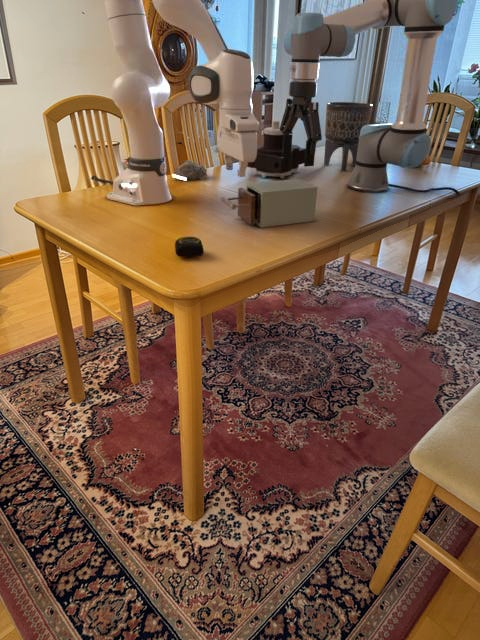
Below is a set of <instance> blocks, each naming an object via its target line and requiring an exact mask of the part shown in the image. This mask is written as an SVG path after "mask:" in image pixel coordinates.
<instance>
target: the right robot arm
mask: <svg viewBox="0 0 480 640" xmlns="http://www.w3.org/2000/svg"><path fill="white" fill-rule="evenodd" d="M457 5H458V0H365V1H363V2H360V3H358V4H355V5H353V6H351V7H348V8H346V9H343V10H340V11H338V12H334V13H332V14H330V15H327V16H325V17H324V15H323V14H322V13H321V12H299V13H297V14H295V17H294V21H293V26H291V27H289V28H288V29H287V30H286V31H285V33H284V36H283V49H284V51H285V52H286V53H287V55H289V56H291V62H290V65H291V66H290V68H289V70H290V76H289V77H290V80H291V81H290V82H289V88H288V95H289V97H291V98H286V103H285V108H284V112H283V115H282V118H281V121H280V124H279V128H280V131H282V134H283V149H282V157H283V158H287V157H291V148H292V145H293V130H294V128H295V126H296V124H297V122H298V120H299V119H300V121H302V124H303V128H304V131H305V135H306V137H307V139H306V141H305V149H306V150H305V162H304V164H303V167H314V166H315V157H316V151H317V150H316V149H317V143H318V142H319V141H322V139H323V136H322V128H321V120H320V115H319V114H320V113H319V102H318V101H313V98H315V97H317V90H318V83H317V82H316V81H317V80H318V79H319V72H320V71H319V70H320V59H321V57H328V58H329V57H330V58H331V57H334V58H343V57H347V56H349V55H351V54H352V52H353V51H354V49H355V46H356V42H357V41H356V40H357V35H359V34H360V33H363V32H366V31H368V30H371V29H373V30H379V29H382V28H387V27H388V28H389V27H404V29H403V34H404V35H405V37H406V38H407V43H406V52H405V59H404V65H403V70H402V71H403V73H402V79H401V87H400V93H399V99H398V100H399V101H398V105H397V106H398V108H397V115H396V120H395V122H393V123H379V124H376V123H375V124H369V125H365V126H363V127H362V128H361V132H360V136H359V142H358V150H357V158H356V165H355V166H354V167H353V171H351V174H350V176H349V179H348V182H347V187H348V188H349V189H351V190H354V191H358V192H363V193H364V192H365V193H382V192H386V191H388V189H389V187H390V188H395V189H401V190H406V191H410V192H414V193H420V194H421V193H422V194H423V193H424V194H425V193H429V192H436V191H451V192H454V193H455V194H456V195H460V194H461V193H460V192H459V190H457V189H456V188H455V187H450V186H445V187H443V186H442V187H431V188H426V189H416V188H413V187H412V188H411V187H407V186H404V185H397V184H392V183H389V178H388V173H387V172H388V171H387V166H388V165H392V166H396V167H400V168H402V169H403V168H407V169H414V168H417V167H418V165H420V164H421V163H422V162H423V160H424V159H425V158H427V157H428V155H429V153H430V150H431V146H432V139H431V136H430V135H429V134H428V133H426V132H427V125H426V124H425V122H424V116H425V110H426V109H425V108H426V104H427V99H428V93H429V88H430V81H431V76H432V70H433V64H434V59H435V52H436V47H437V41H438V39H439V37H440V36H441V35H442V34H443V33H444V30H445V26H446V25H447V24H449V23H450V22H451V21H452V20H453V17H454V16H455V14H456V10H457V7H458V6H457Z"/></svg>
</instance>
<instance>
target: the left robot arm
mask: <svg viewBox="0 0 480 640" xmlns="http://www.w3.org/2000/svg"><path fill="white" fill-rule="evenodd" d="M143 2H144V1H143V0H104V7H105V13H106V18H107V23H108V27H109V32H110V35H111V40H112V45H113V49H114V51H115V53H116V55H117V56H118V57H119V59H120V60H121V63H122V64H123V65H124V67H125V70H126V72H124V73H123V74H121V75H120V76H118V77H116V78H115V79H114V80H113V82H112V84H111V89H110V92H111V98H112V101H113V103H114V104H115V106H116V107H117V108H118V109H119V111H120V113H121V115H122V119H123V120H124V124H125V127H126V131H127V136H128V145H129V154H130V156H129V157H127V158H124V159H123V161H124V162H123V163H124V164H127V166H126V168H125V169H124V170H123V171H122V172H121V173H120V174H119V175H117V176H116V177H115V178H114V179H113V181H111V180H108V179H102V178H99V177H97V176H96V175H92V176H91V178H90V180H96V181H97V182H100V183H105V184H110V185H112V191H111V192H109V193H108V194H107V195H106V199H107V200H111V201H115V202H119V203H123V204H127V205H131V206H134V207H136V206H146V205H159V204H164V203H168V202H169V201H171V200H172V199H173V197H172V195H171V192H170V188H169V184H168V177H167V159H166V158H167V157H166V156H165V145H164V132H163V130H162V128H161V127H160V125H159V123H158V119H157V116H156V112H155V110H158V109H159V108H161V107H163V105H165V104H166V103H167V102H168V101H169V99H170V96H171V87H170V84H169V82H168V80H167V78H166V76H164V74H163V72H162V69H161V67H160V64H159V62H158V59H157V57H156V54H155V51H154V47H153V45H152V41H151V35H150V30H149V27H148V26H149V25H148V21H147V16H146V11H145V7H144V3H143ZM151 2H152V4H153V6H154V8H155V10H156V12H157V13H158V14H159V16H160V17H161V18H162V20H164V22H166V23H168V24H169V25H171V26H173V27H176V28H177V29H180V30H181V31H184V32H186V33H188V34H189V35H190V36H192V37H193V39H195V40H196V41H197V42H198V44H199V45H200V47H201V49H202V51H203V52H204V55H205V56H206V58H207V60H208V61H207V62H205V63H202V64H200V65H196V66H194V68H192V70H191V72H190V73H189V77H188V90H189V93H190V95H191V97H192V99H193V100H194V101H195V102H196V103H197V104H201V105H205V106H206V105H207V106H208V105H218V106H219V107H218V108H219V109H218V110H219V111H218V112H219V114H218V115H219V116H218V123H219V124H218V126H217V133H216V137H217V138H216V146H217V150H218V151H219V152H221V153H223V160H224V163H225V164H224V166H225V167H224V168H225V170H227V171H233V169H234V164H233V160H232V158H234V159H236V160H238V168H237V176H238V177H240V178H243V177H246V172H247V168H248V167H247V165H248V162H254V161H255V159H256V156H257V148H258V143H259V142H258V141H259V140H258V138H259V137H258V131H259V130H260V122H259V121H258V119H257V118H256V116H255V115H254V113H253V102H252V95H253V91H254V66H253V61H252V58H251V55H249V54H248V53H247V52H245V51H241V50H238V49H237V50H236V49H230V48H228V46H227V44H226V42H225V40H224V38H223V36H222V34H221V32H220V30H219V28H218V26H217V24H216V22H215V20H214V19H213V16H212V14H210V12H209V10H208V9H207V7H206V6H205V5H204V3H203V2H202V0H151ZM239 164H240V165H239ZM171 176H172V177H171V178H175V179H176V178H179V179H182V180H181V181H183V180H186V178H185V177H181V176H177V175H176V174H174V173H172V174H171ZM179 179H178V180H179ZM186 181H187V180H186Z"/></svg>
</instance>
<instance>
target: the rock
mask: <svg viewBox="0 0 480 640" xmlns="http://www.w3.org/2000/svg"><path fill="white" fill-rule="evenodd" d="M175 175H177V176H181V177H185V178H186V180H182V179H179V178H175V179H176V180H180V181H187V182H189V181H196V180H197V181H198V180H200V179H201V178H204V177H205V176H206V177H208V174H207V169H206V168H205V167H204V166H203V165H201V164H199V163H196V162H193V161H191V160H188V159H185V161H184V162H183V163H181V165H180V166H178V167H177V168H176V172H175Z"/></svg>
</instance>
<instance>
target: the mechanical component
mask: <svg viewBox="0 0 480 640" xmlns="http://www.w3.org/2000/svg"><path fill="white" fill-rule="evenodd" d="M280 124H281V121H279V120H272V126H271V127H265V128H264V129H263V145H262V146H257V156H256V159H255V161H254V162H248V165H247V168H250V169H255V173H256V174H257V175H261V177H262V178H267V177H279V178H280V179H285V176H291V175H292V173H298V171H299V167H300V165H304V162H305V150H306V147H305V148H304V147H301V146H299V145H297V144H292V148H291V157H287V158H283V157H282V149H283V134H282V131H280ZM239 165H240V164H239V163H238V166H239Z"/></svg>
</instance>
